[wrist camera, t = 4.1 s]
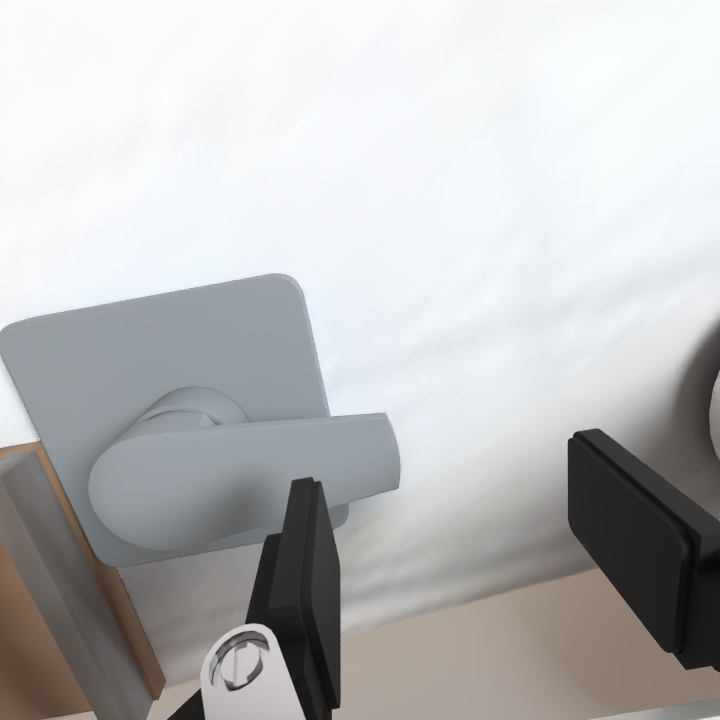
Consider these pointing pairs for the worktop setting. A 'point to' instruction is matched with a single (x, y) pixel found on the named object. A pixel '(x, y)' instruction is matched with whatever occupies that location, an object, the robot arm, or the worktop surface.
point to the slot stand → (62, 608)
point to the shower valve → (191, 418)
